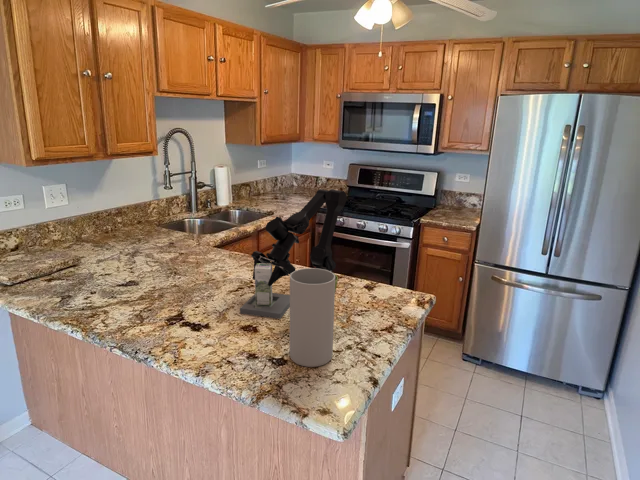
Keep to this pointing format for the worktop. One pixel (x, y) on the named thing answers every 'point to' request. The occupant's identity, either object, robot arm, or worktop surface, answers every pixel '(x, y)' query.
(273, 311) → the pocket plate
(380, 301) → the worktop surface
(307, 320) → the cylinder vase
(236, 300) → the worktop surface
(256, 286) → the syrup box
